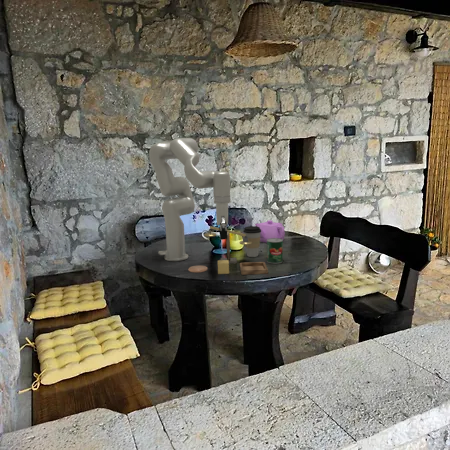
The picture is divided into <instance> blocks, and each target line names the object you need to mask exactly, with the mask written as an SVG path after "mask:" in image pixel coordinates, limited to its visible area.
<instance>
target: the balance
mask: <svg viewBox="0 0 450 450" xmlns="http://www.w3.org/2000/svg"><path fill="white" fill-rule="evenodd" d="M209 230H215V231H219V227H218V226H211V225H209ZM230 234H234V235H237V236H242V240H241V241H239V245H243V246H246V245H248V244H251V243H252V242H251V241H248V237H246V234H244V232H238V231H234V230H229V229H227V239H225V240H226V243H225V244H226V257H220V260H228V261H229V264H237V263H238V259H237V257H231V246H230V245H231V244H230V243H231V241H230V239H231V237H230ZM203 236H204V237H206V238H212V237H216V236H217V233H215V232H211V231H209V232H207V233H204V235H203Z"/></svg>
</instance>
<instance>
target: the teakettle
mask: <svg viewBox="0 0 450 450" xmlns="http://www.w3.org/2000/svg"><path fill="white" fill-rule="evenodd" d="M254 226H257V227H260V229H261V232H260V243H265V244H267V239H270V238H280V239H283V241H284V239H285V237H286V234H285V226H283V223H282V222H274V221H273V220H272V219H268V220H266V221H264V222H259V223H254Z"/></svg>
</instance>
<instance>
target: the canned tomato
mask: <svg viewBox="0 0 450 450" xmlns="http://www.w3.org/2000/svg"><path fill="white" fill-rule="evenodd" d="M283 247H284V240H283V239H280V238H270V239H267V243H266V262H267V263H268V264H271V265H272V264H281V263H283V262H284V261H283V260H284V248H283Z"/></svg>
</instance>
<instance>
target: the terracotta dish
mask: <svg viewBox="0 0 450 450" xmlns="http://www.w3.org/2000/svg"><path fill="white" fill-rule="evenodd" d="M206 271H208V267H207V266H206V265H193V266H190V267H188V272H190V273H204V272H206Z"/></svg>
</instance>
